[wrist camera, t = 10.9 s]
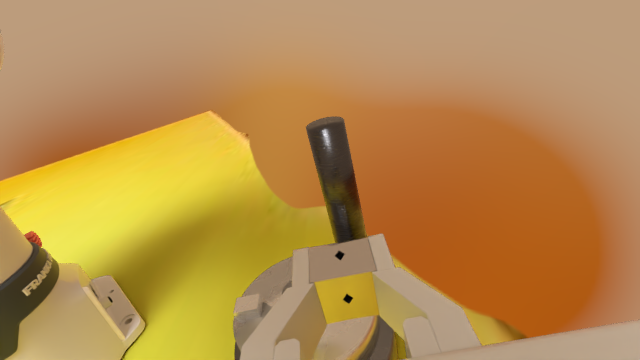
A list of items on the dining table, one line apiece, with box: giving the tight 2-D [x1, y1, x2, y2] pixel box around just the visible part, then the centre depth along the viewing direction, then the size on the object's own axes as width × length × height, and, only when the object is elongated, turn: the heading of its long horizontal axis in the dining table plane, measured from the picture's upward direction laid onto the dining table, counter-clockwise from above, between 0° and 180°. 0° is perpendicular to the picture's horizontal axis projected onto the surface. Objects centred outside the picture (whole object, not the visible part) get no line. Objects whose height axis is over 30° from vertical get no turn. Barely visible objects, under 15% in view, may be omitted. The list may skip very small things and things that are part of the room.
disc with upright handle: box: [233, 117, 380, 360], centre depth 26 cm, size 14×12×16 cm
